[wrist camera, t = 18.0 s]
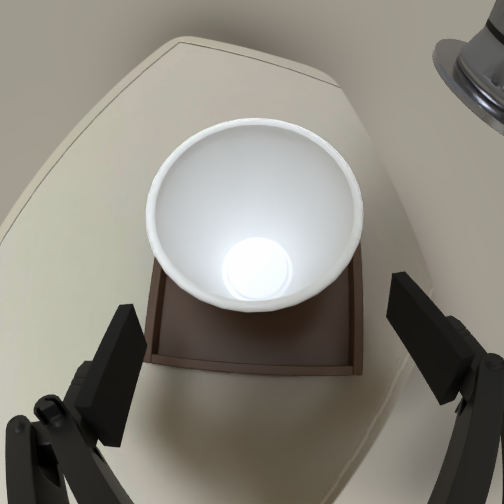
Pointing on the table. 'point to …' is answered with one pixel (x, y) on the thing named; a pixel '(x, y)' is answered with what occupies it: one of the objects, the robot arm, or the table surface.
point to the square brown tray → (259, 331)
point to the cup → (254, 215)
